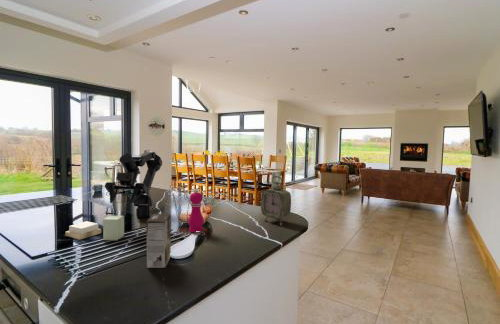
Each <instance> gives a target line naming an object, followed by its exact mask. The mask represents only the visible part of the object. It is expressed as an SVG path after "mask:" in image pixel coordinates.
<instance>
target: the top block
mask: <svg viewBox="0 0 500 324" xmlns="http://www.w3.org/2000/svg"><path fill="white" fill-rule="evenodd" d="M68 228H69V229H68V231H69V232H74V233H78V234H84V233H87V232H90V231H94V230H97V229H98V228H99V223H96V222H93V221H92V222H91V221H87V220H86V221H82V222H79V223H75V224H72V225H69V226H68Z"/></svg>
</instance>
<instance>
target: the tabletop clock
mask: <svg viewBox="0 0 500 324" xmlns="http://www.w3.org/2000/svg"><path fill="white" fill-rule="evenodd" d="M274 178H278V179H280V180H281V181H280V182H278V180H277V181H273V179H274ZM271 181H272V183H273V185H272V187H271V188H269V189H265V190H262V192H261V197H260V208H261V210H260V211H261V214H262V215H263V216H265V217H264V218H263V221H264V222H267V220H268V219H267V218H271V219H276V222H279V226H283V225H284V223H283V222H282V219H283V218H285V217H288V216H290V213H291V209H292V208H291V207H292V194H291V192H289V191H288V190H286V189H282V186H281V185H282V183H283V178H282V177H281V176H278V175H275V176H272V178H271Z"/></svg>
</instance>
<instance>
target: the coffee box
mask: <svg viewBox="0 0 500 324" xmlns="http://www.w3.org/2000/svg"><path fill="white" fill-rule="evenodd" d="M171 238H172V237H171V214H169V213H168V214H167V213H166V214H164V213H153V214H152V215H150V217H148V219H147V220H146V268H148V269H151V268H153V269H154V268H159V269H160V268H163V269H164V268H166V267H167V265H168V264H169V263H168V262H169V260H170V258H171V257H170V253H171V251H172V250H171V249H172V248H171V241H172V240H171ZM171 254H172V253H171Z"/></svg>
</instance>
